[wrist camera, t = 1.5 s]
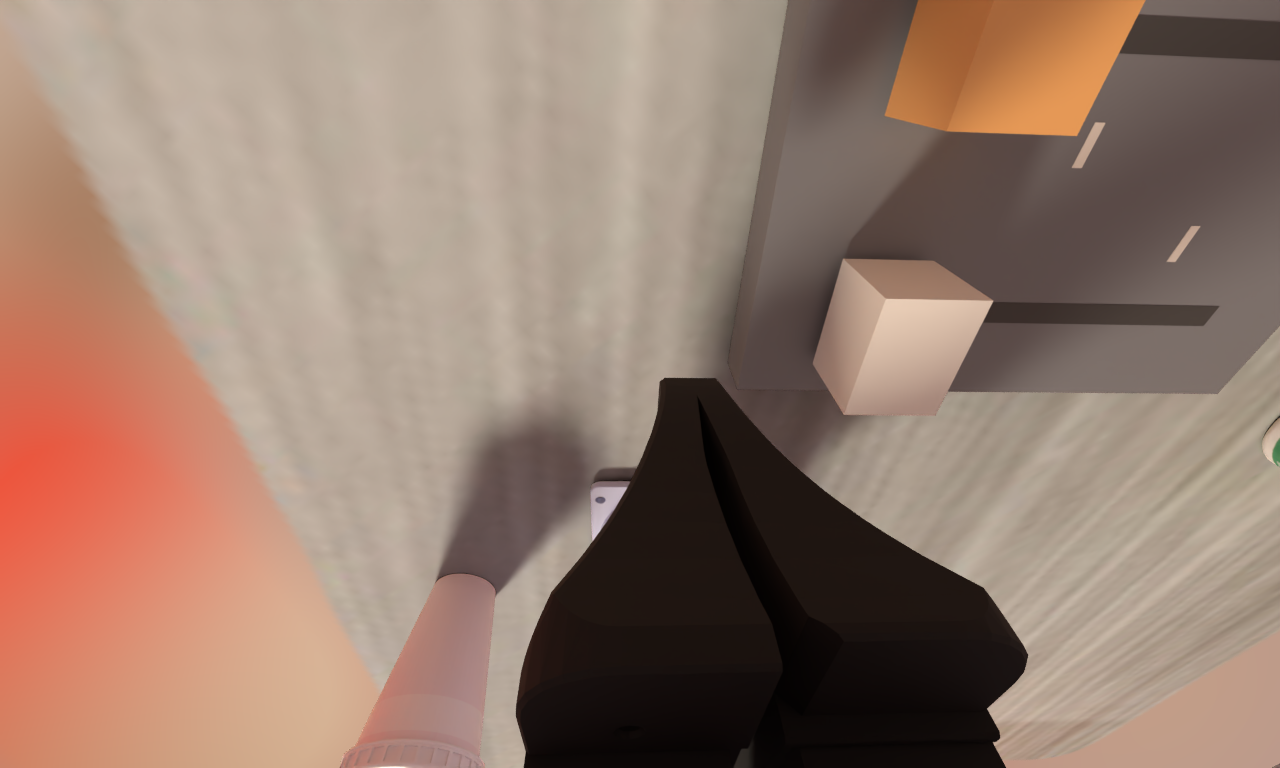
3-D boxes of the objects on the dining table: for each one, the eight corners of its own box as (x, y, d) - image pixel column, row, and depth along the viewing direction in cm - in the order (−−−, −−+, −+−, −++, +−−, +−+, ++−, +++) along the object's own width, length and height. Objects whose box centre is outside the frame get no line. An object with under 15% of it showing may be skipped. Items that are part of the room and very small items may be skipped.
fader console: (1171, 367, 21) (1218, 394, 19) (727, 362, 20) (737, 390, 19) (1558, -110, 12) (1701, -134, 11) (814, -157, 12) (847, -193, 10)
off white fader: (891, 364, 18) (935, 415, 15) (812, 363, 17) (843, 414, 15) (933, 260, 15) (993, 300, 13) (842, 258, 15) (885, 298, 13)
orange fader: (990, 119, 13) (1076, 136, 11) (884, 115, 13) (946, 131, 10) (1072, -82, 11) (1206, -121, 8) (943, -90, 11) (1042, -132, 8)
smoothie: (477, 548, 27) (371, 915, 15) (537, 602, 30) (487, 937, 19) (387, 578, 28) (229, 937, 17) (455, 627, 32) (361, 953, 20)
